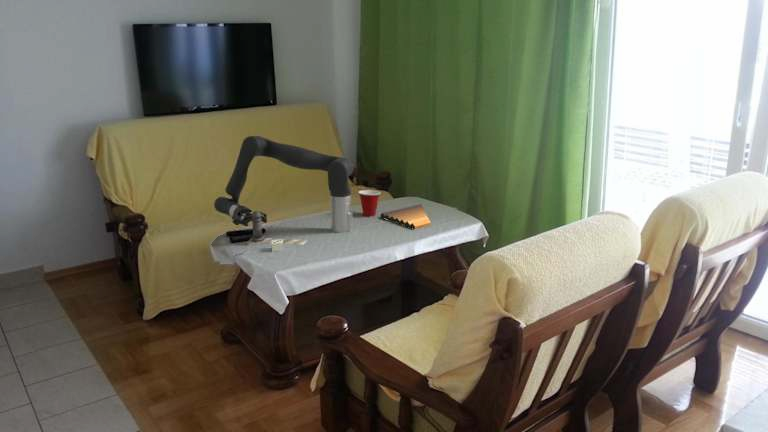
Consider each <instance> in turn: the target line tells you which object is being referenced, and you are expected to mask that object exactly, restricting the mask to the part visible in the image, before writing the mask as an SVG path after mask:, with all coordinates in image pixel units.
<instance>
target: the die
mask: <svg viewBox="0 0 768 432" xmlns="http://www.w3.org/2000/svg"><path fill="white" fill-rule="evenodd" d="M281 239H282V240H272V243H271V250H272V252H284V244H283V239H284V238H281Z"/></svg>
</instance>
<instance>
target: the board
mask: <svg viewBox="0 0 768 432" xmlns="http://www.w3.org/2000/svg"><path fill="white" fill-rule="evenodd" d="M282 239H283V245H284V244H285V245H302V246H303V245H305V244H306V243H307V242H308V240H307V239H293V238H271V237H268V238H267V237H264V240H263V241H260V242H259V243H261V244H272V240H282ZM251 243H255V242H254V241H252V237H251V238H249V239H248V240H247V241H246V242H245V245H246V246H249V244H251Z"/></svg>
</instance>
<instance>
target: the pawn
mask: <svg viewBox="0 0 768 432" xmlns="http://www.w3.org/2000/svg"><path fill="white" fill-rule="evenodd" d="M252 212H253V213H252V234H253V235H252V237H251V238H252V241H254V242H253V243H260V241H263V240H264V238H265V237H264V235H263V233H262V231H263V229H262V221H261V218H260V217H261V214H260V212H261V211H258V210H254V211H252ZM264 241H265V240H264ZM264 241H263V242H264Z"/></svg>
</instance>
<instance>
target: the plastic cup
mask: <svg viewBox="0 0 768 432" xmlns="http://www.w3.org/2000/svg"><path fill="white" fill-rule="evenodd" d="M358 194H359V198H360V204H361V209H362V213H363V214H362V215H363V216H364V217H366V216H372V217H375V216H376V212H377V208H378V203H379V202H378V201H379V198H380V195H381V191H379V190H372V189H371V190H370V189H367V190H359V191H358ZM374 215H375V216H374Z"/></svg>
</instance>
